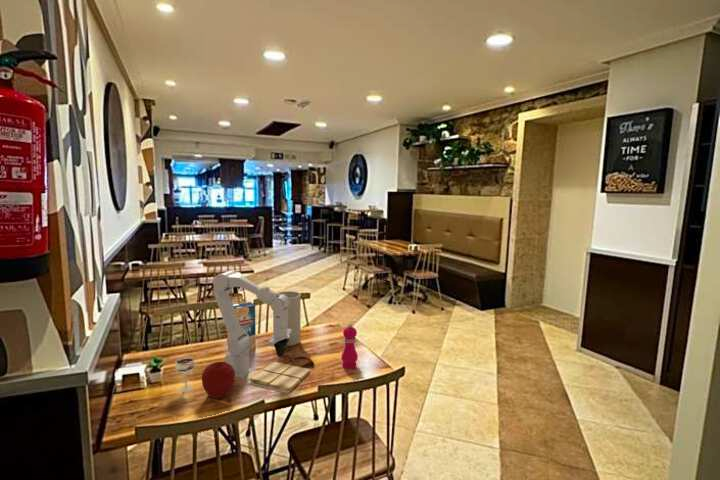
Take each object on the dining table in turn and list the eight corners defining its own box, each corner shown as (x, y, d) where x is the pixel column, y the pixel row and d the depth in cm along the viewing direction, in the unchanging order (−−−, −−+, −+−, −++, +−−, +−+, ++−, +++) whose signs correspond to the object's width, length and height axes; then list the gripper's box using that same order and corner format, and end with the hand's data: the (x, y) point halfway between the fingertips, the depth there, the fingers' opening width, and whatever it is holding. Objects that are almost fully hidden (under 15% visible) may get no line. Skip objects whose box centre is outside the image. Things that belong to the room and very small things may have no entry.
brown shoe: (283, 354, 181) (290, 341, 182) (295, 358, 184) (302, 346, 185) (296, 370, 165) (303, 356, 166) (309, 375, 169) (316, 361, 170)
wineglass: (190, 382, 154) (189, 354, 152) (198, 388, 149) (197, 359, 148) (173, 389, 148) (172, 360, 147) (181, 395, 144) (180, 365, 142)
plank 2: (269, 386, 151) (269, 383, 151) (280, 377, 158) (280, 374, 158) (289, 391, 148) (289, 388, 148) (299, 381, 155) (299, 378, 155)
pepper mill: (355, 371, 166) (356, 327, 163) (339, 369, 168) (340, 325, 165) (358, 363, 173) (359, 321, 170) (343, 362, 175) (344, 320, 172)
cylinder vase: (270, 341, 195) (270, 294, 191) (289, 335, 204) (289, 289, 201) (286, 349, 187) (286, 299, 183) (305, 341, 196) (305, 294, 193)
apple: (240, 396, 144) (240, 363, 143) (210, 408, 136) (209, 373, 135) (227, 384, 153) (226, 352, 151) (197, 394, 145) (196, 361, 143)
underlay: (245, 383, 154) (245, 383, 154) (272, 363, 171) (272, 362, 171) (288, 393, 147) (288, 392, 147) (310, 371, 165) (310, 371, 165)
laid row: (262, 372, 162) (262, 369, 162) (273, 364, 170) (273, 361, 170) (300, 381, 156) (300, 378, 156) (310, 371, 164) (310, 369, 164)
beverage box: (229, 348, 186) (228, 305, 183) (251, 343, 192) (250, 301, 189) (233, 353, 180) (232, 309, 177) (255, 348, 186) (255, 305, 183)
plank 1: (249, 380, 154) (249, 378, 154) (261, 373, 162) (261, 370, 162) (268, 385, 151) (268, 382, 151) (279, 377, 159) (279, 374, 158)
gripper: (278, 332, 147) (279, 365, 149) (298, 320, 161) (297, 350, 163) (263, 329, 150) (263, 362, 152) (283, 317, 163) (283, 348, 165)
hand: (280, 356), depth 157 cm, fingers closed
